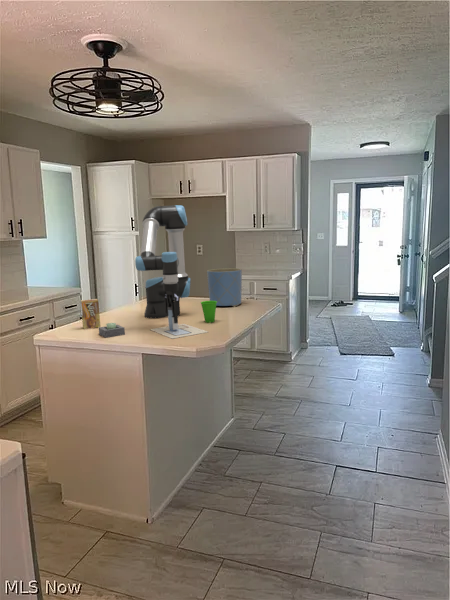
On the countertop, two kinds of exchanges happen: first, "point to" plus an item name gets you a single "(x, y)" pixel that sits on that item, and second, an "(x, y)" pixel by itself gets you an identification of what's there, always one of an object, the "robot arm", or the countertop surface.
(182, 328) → the picture sheet
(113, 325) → the button
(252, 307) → the countertop surface
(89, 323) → the candy box
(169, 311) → the blue bottle
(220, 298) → the planter
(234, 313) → the countertop surface
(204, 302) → the cup
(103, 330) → the button housing
